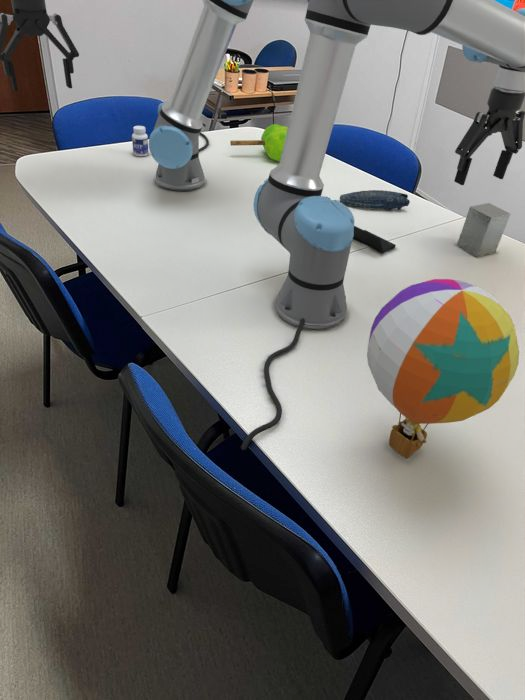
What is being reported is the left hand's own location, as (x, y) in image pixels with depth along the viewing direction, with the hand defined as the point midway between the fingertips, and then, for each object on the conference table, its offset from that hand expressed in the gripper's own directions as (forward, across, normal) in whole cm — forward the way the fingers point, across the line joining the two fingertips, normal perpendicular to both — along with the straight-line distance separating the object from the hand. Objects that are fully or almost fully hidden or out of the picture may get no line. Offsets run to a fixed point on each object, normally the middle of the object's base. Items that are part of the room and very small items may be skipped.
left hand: (42, 88), depth 135 cm
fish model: (+27, -81, +47) cm, 97 cm away
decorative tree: (+27, -76, -2) cm, 81 cm away
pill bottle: (+27, -34, -21) cm, 48 cm away
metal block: (+27, -89, +80) cm, 123 cm away
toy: (+27, -19, +122) cm, 127 cm away
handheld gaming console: (+27, -62, +66) cm, 95 cm away
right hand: (+8, -86, +76) cm, 115 cm away
